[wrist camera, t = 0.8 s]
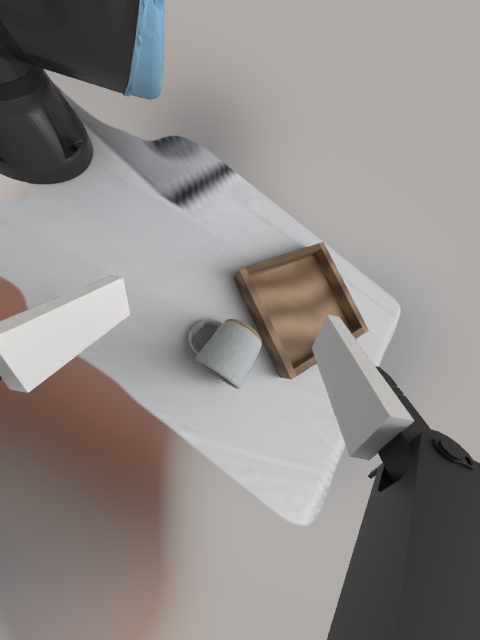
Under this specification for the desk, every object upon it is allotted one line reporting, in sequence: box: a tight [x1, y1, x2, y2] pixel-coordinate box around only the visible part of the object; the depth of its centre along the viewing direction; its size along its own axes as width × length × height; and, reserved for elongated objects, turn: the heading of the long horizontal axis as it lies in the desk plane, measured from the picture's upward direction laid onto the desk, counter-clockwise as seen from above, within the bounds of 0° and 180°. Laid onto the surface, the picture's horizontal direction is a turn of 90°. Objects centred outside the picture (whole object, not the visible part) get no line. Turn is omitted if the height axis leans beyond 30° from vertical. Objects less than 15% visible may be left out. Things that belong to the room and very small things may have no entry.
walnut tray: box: [234, 242, 369, 379], centre depth 35 cm, size 20×20×4 cm
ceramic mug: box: [188, 319, 262, 389], centre depth 27 cm, size 11×8×8 cm
